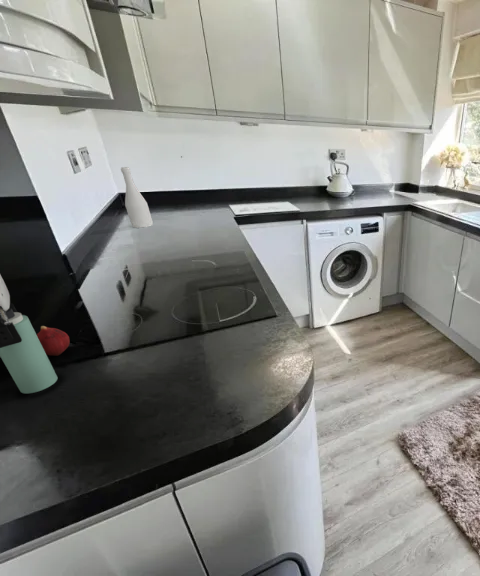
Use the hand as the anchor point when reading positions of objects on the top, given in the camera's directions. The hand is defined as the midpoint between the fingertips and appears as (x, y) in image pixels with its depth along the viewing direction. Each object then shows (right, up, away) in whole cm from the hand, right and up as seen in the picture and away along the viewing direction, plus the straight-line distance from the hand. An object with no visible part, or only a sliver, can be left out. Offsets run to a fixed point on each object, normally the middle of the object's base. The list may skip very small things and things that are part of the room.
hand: (10, 333), depth 62 cm
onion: (-5, -7, +14) cm, 17 cm away
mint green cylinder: (+2, -3, +4) cm, 5 cm away
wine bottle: (-59, +42, +113) cm, 135 cm away
